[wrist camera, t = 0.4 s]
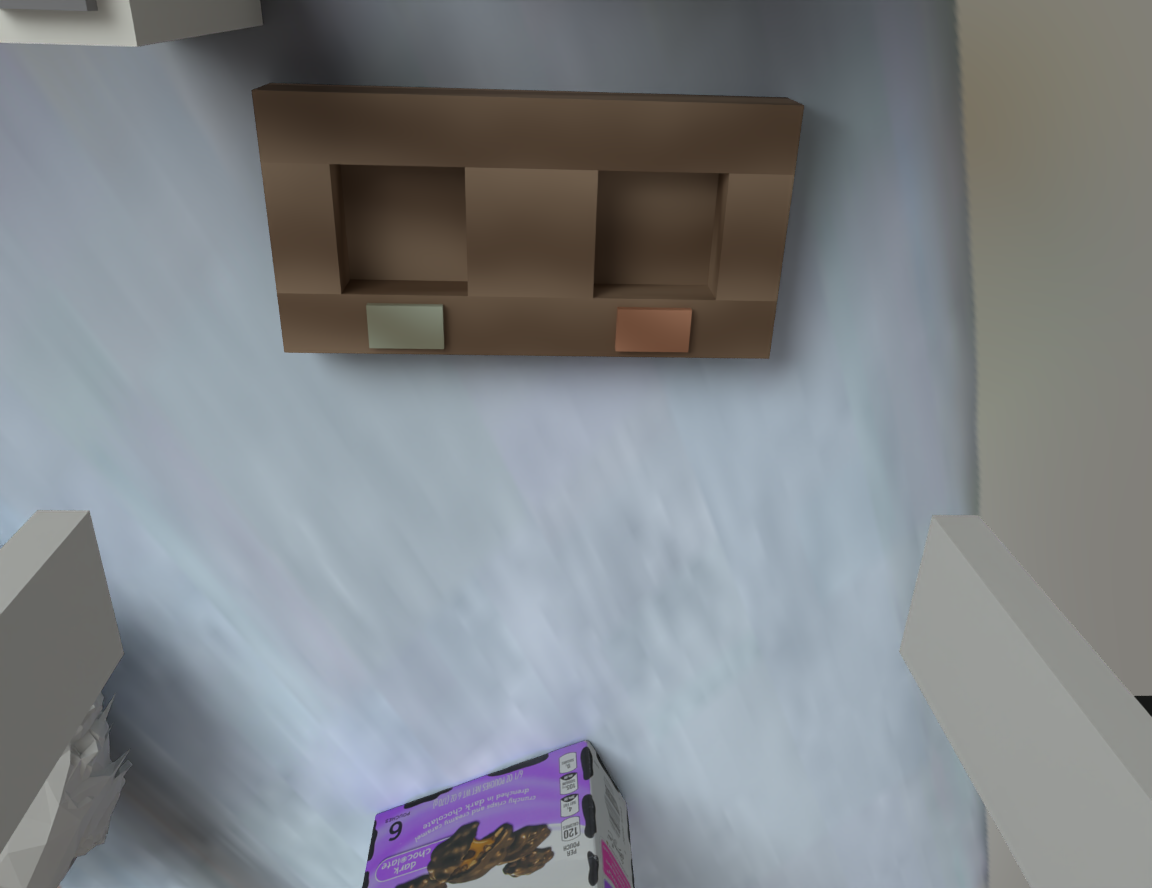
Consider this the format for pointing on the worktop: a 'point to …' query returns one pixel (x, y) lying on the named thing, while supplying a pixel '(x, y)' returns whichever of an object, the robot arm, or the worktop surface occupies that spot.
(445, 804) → the candy box
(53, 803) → the bowl
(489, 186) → the socket board
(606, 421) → the worktop surface
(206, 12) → the plug
